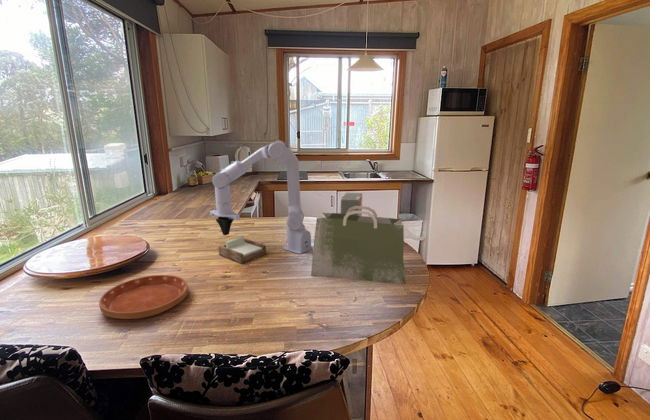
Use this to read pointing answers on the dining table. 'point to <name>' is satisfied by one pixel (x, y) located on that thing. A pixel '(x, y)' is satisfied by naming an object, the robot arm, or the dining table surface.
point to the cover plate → (242, 246)
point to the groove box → (239, 256)
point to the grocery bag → (359, 247)
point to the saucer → (143, 296)
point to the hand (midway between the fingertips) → (226, 234)
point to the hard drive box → (351, 202)
